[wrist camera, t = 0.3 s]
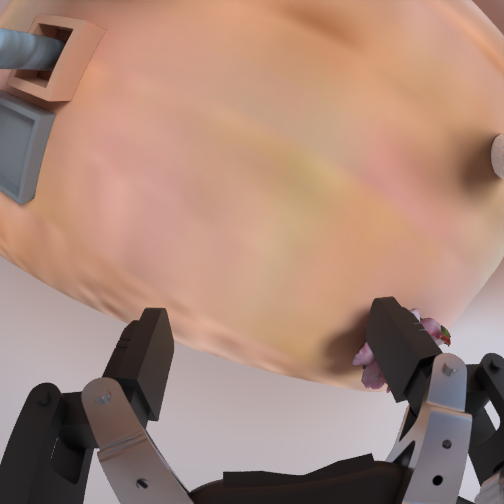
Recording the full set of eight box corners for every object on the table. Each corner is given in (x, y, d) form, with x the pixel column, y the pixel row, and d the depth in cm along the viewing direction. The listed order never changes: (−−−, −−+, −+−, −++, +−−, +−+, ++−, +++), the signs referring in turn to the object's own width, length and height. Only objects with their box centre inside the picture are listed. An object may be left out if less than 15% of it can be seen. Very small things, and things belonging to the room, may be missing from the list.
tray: (-4, 88, 20) (-18, 89, 17) (56, 114, 24) (41, 115, 21) (-21, 160, 25) (-33, 164, 22) (34, 197, 28) (21, 205, 26)
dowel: (60, 40, 19) (-33, 26, 5) (80, 45, 20) (-17, 26, 6) (47, 68, 21) (-49, 68, 6) (65, 74, 21) (-36, 73, 7)
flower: (328, 359, 36) (362, 413, 28) (400, 282, 33) (449, 329, 25) (371, 368, 44) (399, 407, 36) (426, 310, 41) (461, 345, 33)
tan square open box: (58, 20, 17) (37, 13, 13) (106, 29, 19) (87, 20, 15) (28, 83, 21) (6, 84, 17) (71, 100, 23) (48, 101, 19)
